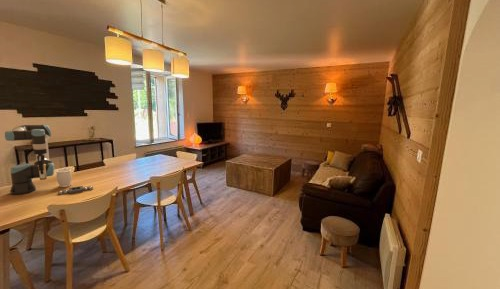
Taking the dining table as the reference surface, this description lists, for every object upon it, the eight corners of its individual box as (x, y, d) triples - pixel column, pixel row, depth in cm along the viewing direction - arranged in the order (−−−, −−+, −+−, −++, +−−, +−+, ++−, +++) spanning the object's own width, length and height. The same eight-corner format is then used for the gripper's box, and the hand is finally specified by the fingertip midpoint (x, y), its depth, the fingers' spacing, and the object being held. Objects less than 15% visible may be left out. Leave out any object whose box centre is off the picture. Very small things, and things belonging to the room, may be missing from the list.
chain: (58, 192, 186) (58, 189, 185) (92, 187, 200) (92, 184, 200) (58, 195, 178) (57, 192, 178) (92, 190, 193) (92, 187, 192)
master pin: (39, 178, 175) (37, 164, 173) (47, 177, 178) (46, 163, 176) (38, 180, 171) (37, 166, 169) (47, 179, 174) (45, 165, 172)
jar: (54, 188, 193) (53, 172, 191) (61, 184, 203) (60, 168, 200) (68, 187, 196) (67, 171, 194) (74, 183, 206) (73, 168, 203)
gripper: (34, 147, 174) (38, 174, 178) (31, 151, 161) (35, 180, 165) (47, 146, 179) (50, 173, 183) (45, 150, 166) (48, 179, 170)
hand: (43, 176), depth 174 cm, fingers closed on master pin, 4 cm apart
